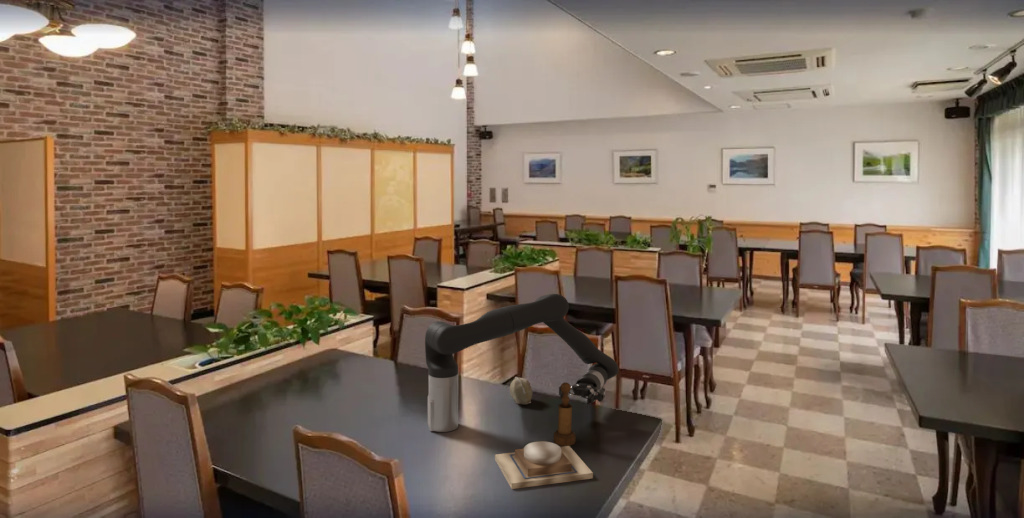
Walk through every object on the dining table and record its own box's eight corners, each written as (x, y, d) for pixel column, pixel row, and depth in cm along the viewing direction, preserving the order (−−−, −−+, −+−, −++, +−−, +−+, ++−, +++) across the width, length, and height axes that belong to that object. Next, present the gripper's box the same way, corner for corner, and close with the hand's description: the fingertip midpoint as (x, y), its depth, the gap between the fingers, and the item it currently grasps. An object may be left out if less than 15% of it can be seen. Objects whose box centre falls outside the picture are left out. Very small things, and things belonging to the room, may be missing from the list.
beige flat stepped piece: (511, 489, 152) (511, 468, 152) (495, 459, 169) (495, 440, 168) (592, 478, 158) (593, 458, 158) (569, 450, 175) (569, 432, 174)
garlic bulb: (524, 413, 209) (523, 390, 205) (503, 404, 214) (502, 382, 209) (538, 398, 216) (538, 375, 212) (518, 389, 220) (517, 367, 216)
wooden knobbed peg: (574, 447, 177) (575, 387, 175) (552, 445, 178) (553, 385, 176) (576, 437, 184) (577, 380, 181) (555, 436, 185) (556, 378, 183)
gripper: (570, 370, 206) (553, 384, 191) (611, 376, 200) (597, 390, 185) (569, 391, 207) (553, 407, 192) (610, 398, 201) (596, 414, 186)
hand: (575, 399), depth 189 cm, fingers open, 8 cm apart
